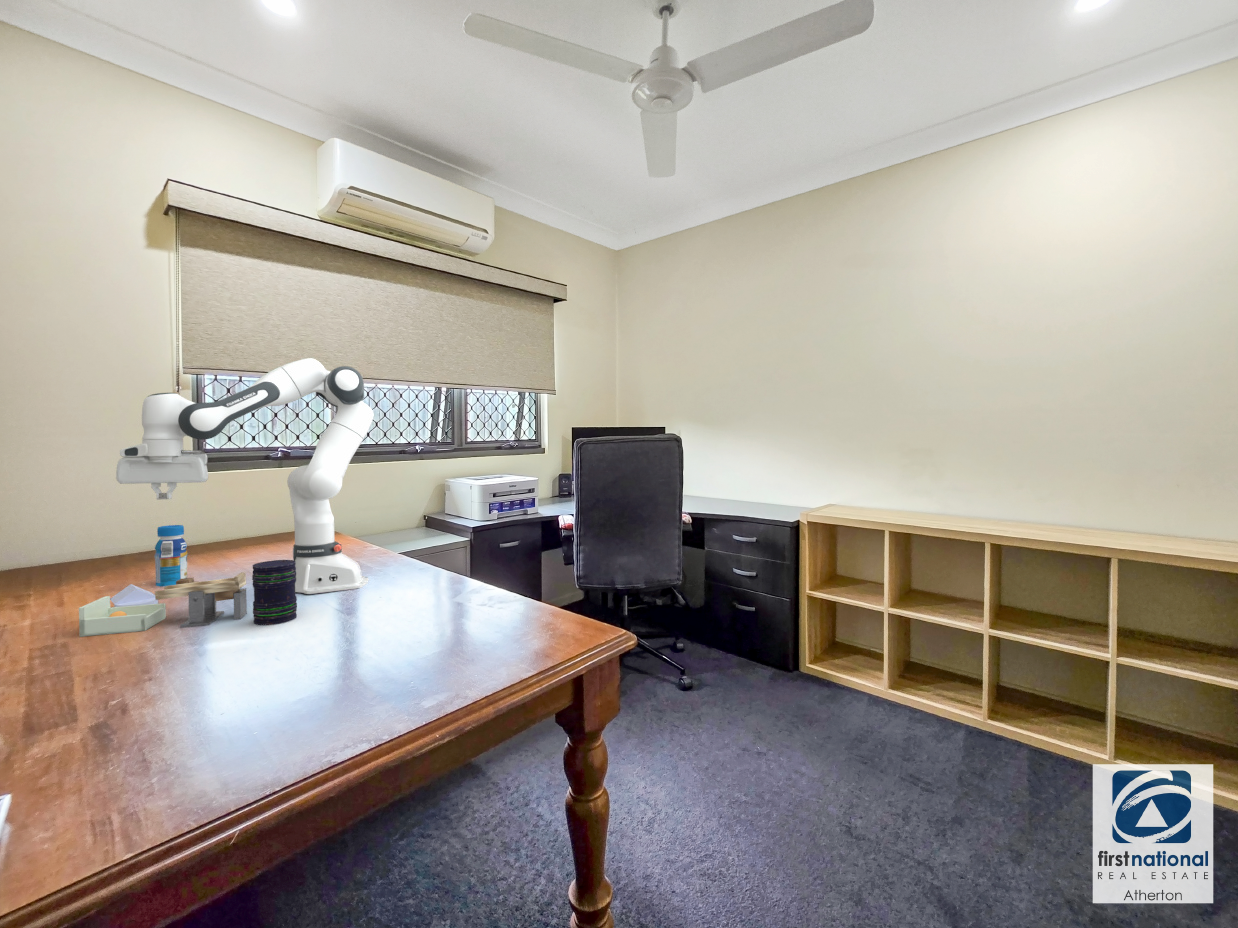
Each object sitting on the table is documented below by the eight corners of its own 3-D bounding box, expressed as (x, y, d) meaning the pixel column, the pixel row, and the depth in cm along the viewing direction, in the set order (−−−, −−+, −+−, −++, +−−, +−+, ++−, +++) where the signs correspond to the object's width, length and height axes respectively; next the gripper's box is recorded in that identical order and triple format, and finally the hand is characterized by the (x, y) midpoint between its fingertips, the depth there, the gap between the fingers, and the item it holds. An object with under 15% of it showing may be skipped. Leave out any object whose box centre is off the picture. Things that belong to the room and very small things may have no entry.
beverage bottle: (148, 588, 176) (147, 527, 175) (176, 582, 184) (175, 524, 183) (167, 590, 173) (165, 528, 173) (194, 584, 181) (193, 524, 181)
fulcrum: (250, 610, 150) (249, 580, 150) (236, 622, 140) (236, 589, 140) (198, 615, 146) (197, 583, 146) (180, 627, 136) (179, 593, 136)
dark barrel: (275, 626, 137) (274, 568, 136) (243, 624, 139) (242, 566, 138) (306, 614, 146) (305, 560, 146) (275, 612, 148) (274, 559, 148)
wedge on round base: (109, 610, 151) (117, 620, 142) (109, 587, 151) (116, 594, 142) (151, 603, 158) (161, 612, 149) (151, 581, 157) (161, 588, 149)
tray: (165, 617, 144) (165, 591, 144) (145, 630, 134) (144, 602, 134) (105, 623, 140) (105, 596, 140) (79, 636, 130) (78, 607, 129)
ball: (133, 611, 139) (117, 607, 138) (125, 615, 135) (109, 611, 134) (126, 625, 138) (110, 620, 137) (118, 629, 135) (102, 625, 134)
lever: (257, 585, 156) (255, 565, 156) (239, 598, 142) (237, 576, 142) (182, 594, 151) (180, 574, 150) (156, 609, 136) (154, 586, 136)
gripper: (211, 450, 158) (212, 497, 158) (124, 450, 151) (126, 499, 152) (202, 450, 152) (203, 498, 152) (112, 450, 146) (113, 501, 146)
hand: (164, 499), depth 152 cm, fingers closed
